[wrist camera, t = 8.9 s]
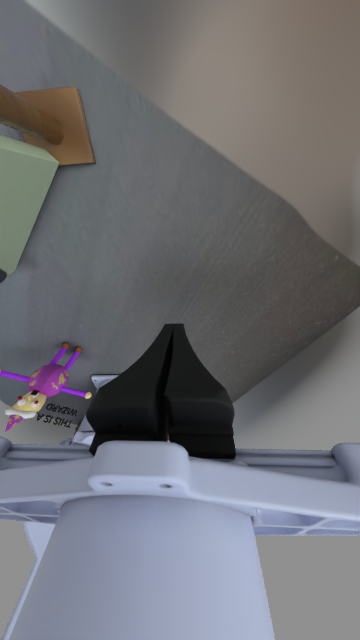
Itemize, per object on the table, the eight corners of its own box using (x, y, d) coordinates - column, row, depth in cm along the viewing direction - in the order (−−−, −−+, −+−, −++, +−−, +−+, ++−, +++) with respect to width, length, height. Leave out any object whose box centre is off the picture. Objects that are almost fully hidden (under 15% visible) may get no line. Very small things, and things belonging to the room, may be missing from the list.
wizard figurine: (111, 353, 28) (68, 439, 18) (107, 365, 30) (66, 450, 20) (32, 328, 26) (-65, 411, 16) (33, 343, 27) (-54, 427, 17)
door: (23, 278, 20) (-42, 311, 15) (2, 265, 20) (-75, 294, 14) (71, 173, 15) (-3, 158, 9) (44, 148, 14) (-54, 115, 8)
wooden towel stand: (96, 163, 15) (-16, 123, 7) (39, 167, 15) (-134, 134, 7) (78, 90, 13) (-121, -105, 5) (13, 97, 13) (-286, -74, 5)
